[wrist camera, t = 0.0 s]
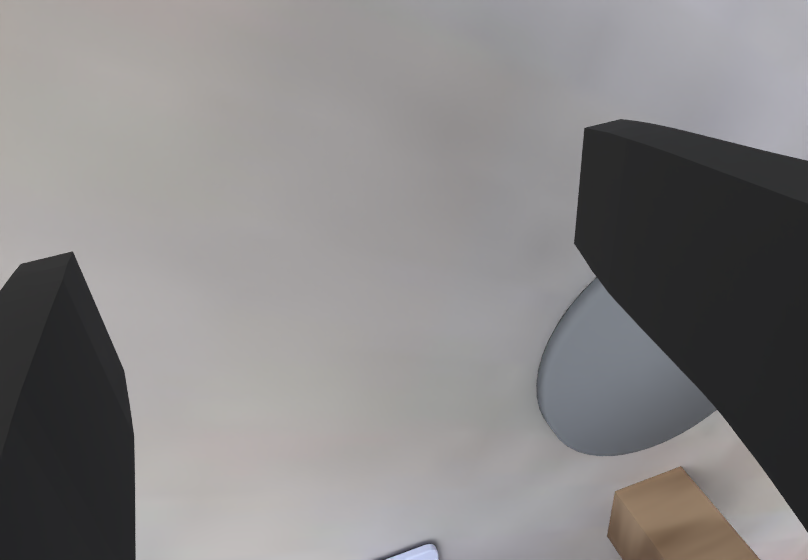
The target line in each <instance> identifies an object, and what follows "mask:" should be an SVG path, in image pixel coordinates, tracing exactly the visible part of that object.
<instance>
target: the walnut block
mask: <svg viewBox="0 0 808 560" xmlns="http://www.w3.org/2000/svg"><path fill="white" fill-rule="evenodd" d="M607 537H608V538H609V540H610V541H611V543H612V544H613V546H614V547H615V549H616V550H617V551H618V553H619V554H620V556H621V557H622V559H623V560H760V559H759V558H758V557H757V555H756V554H755V553H754V552H753V551H752V550H751V548H750V547H749V546H748V545H747V544H746V542H745V541H744V540H743V539H742V538H741V537H740V535H739V534H738V533H737V532H736V531H735V530H734V528H733V527H732V526H731V525H730V524H729V522H728V521H727V520H726V519H725V518H724V517H723V515H722V514H721V513H720V512H719V511H718V509H717V508H716V507H715V506H714V505H713V504H712V502H711V501H710V500H709V499H708V498H707V497H706V495H705V494H704V493H703V492H702V491H701V489H700V488H699V487H698V486H697V485H696V484H695V482H694V481H693V480H692V479H691V478H690V477H689V475H688V474H687V473H686V472H685V471H684V469H683V468H682V467H678V468H675V469H673V470H670V471H667V472H665V473H662V474H660V475H657V476H654V477H652V478H649V479H646V480H644V481H641V482H638V483H636V484H633V485H631V486H628V487H625V488H623V489H620V490H617V491H615V494H614V500H613V506H612V511H611V517H610V523H609V528H608V534H607Z"/></svg>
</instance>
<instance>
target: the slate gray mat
mask: <svg viewBox="0 0 808 560" xmlns="http://www.w3.org/2000/svg"><path fill="white" fill-rule="evenodd" d="M537 399H538V404H539V408H540V410H541V413H542V415H543V417H544V419H545V420H546V422H547V423H548V425H549V426H550V427H551V429H552V430H553V432H554V433H555V434H556V436H557V437H558V438H559V440H561V441H562V442H563V443H564V444H565V445H567V446H568V447H570V448H572V449H574V450H576V451H578V452H581V453H585V454H589V455H596V456H615V455H623V454H628V453H633V452H637V451H641V450H644V449H647V448H650V447H653V446H655V445H658V444H660V443H663V442H665V441H667V440H669V439H671V438H673V437H675V436H677V435H679V434H681V433H683V432H685V431H686V430H688V429H690V428H691V427H693V426H695V425H696V424H698V423H699V422H701V421H702V420H703V419H705V418H706V417H708V416H709V415H710V414H712V413H713V412H714V411H716V410H717V409H716V408H715V407H714V405H713V404H712V403H711V402H710V401H709V400H708V399H707V397H706V396H705V395H704V394H703V393H702V392H701V391H700V390H699V389H698V388H697V387H696V385H695V384H694V383H693V382H692V381H691V380H690V379H689V378H688V377H687V376H686V375H685V374H684V373H683V372H682V371H681V370H680V369H679V368H678V367H677V366H676V364H675V363H674V362H673V361H672V360H671V359H670V358H669V357H668V356H667V355H666V354H665V353H664V352H663V351H662V350H661V349H660V348H659V347H658V346H657V345H656V344H655V342H654V341H653V340H652V339H651V338H650V337H649V336H648V335H647V334H646V333H645V332H644V331H643V330H642V329H641V328H640V327H639V326H638V325H637V323H636V322H635V321H634V320H633V319H632V318H631V317H630V316H629V315H628V314H627V313H626V312H625V311H624V309H623V308H622V307H621V306H620V305H619V304H618V303H617V302H616V301H615V300H614V299H613V297H612V296H611V295H610V294H609V293H608V292H607V290H606V289H605V288H604V286H603V285H602V284H601V282H600V281H599V279H598V278H596V279H595V280H594V281H593V282H592V283H591V284H590V285H589V286H588V287H587V288H586V289H585V290H584V291H583V292H582V293H581V294H580V295H579V297H578V298H577V299H576V300H575V301H574V302H573V304H572V305H571V306H570V307H569V309H568V310H567V312H566V313H565V314H564V316H563V317H562V319H561V320H560V322H559V323H558V325H557V327H556V328H555V330H554V332H553V334H552V335H551V337H550V339H549V341H548V344H547V346H546V348H545V351H544V353H543V356H542V359H541V363H540V366H539V370H538V377H537Z"/></svg>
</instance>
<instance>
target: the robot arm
mask: <svg viewBox="0 0 808 560" xmlns="http://www.w3.org/2000/svg"><path fill="white" fill-rule="evenodd" d="M574 244H575V245H576V247H577V248H578V250H579V251H580V253H581V254H582V256H583V257H584V259H585V260H586V262H587V264H588V265H589V267H590V268H591V270H592V271H593V272H594V274H595V275H596V277H597V278H598V279H599V281H600V282H601V284H602V285H603V286H604V288H605V289H606V290H607V292H608V293H609V294H610V295H611V296H612V297H613V299H614V300H615V301H616V302H617V303H618V304H619V305H620V306H621V307H622V308H623V309H624V311H625V312H626V313H627V314H628V315H629V316H630V317H631V318H632V319H633V320H634V321H635V322H636V323H637V325H638V326H639V327H640V328H641V329H642V330H643V331H644V332H645V333H646V334H647V335H648V336H649V337H650V338H651V339H652V340H653V341H654V342H655V344H656V345H657V346H658V347H659V348H660V349H661V350H662V351H663V352H664V353H665V354H666V355H667V356H668V357H669V358H670V359H671V360H672V361H673V362H674V363H675V364H676V366H677V367H678V368H679V369H680V370H681V371H682V372H683V373H684V374H685V375H686V376H687V377H688V378H689V379H690V380H691V381H692V382H693V383H694V384H695V385H696V387H697V388H698V389H699V390H700V391H701V392H702V393H703V394H704V395H705V396H706V397H707V399H708V400H709V401H710V402H711V403H712V404H713V405H714V407H715V408H716V409H717V410H718V411H719V412H720V414H721V415H722V416H723V417H724V418H725V420H726V421H727V422H728V424H729V425H730V426H731V427H732V429H733V430H734V431H735V433H736V434H737V435H738V437H739V438H740V439H741V441H742V442H743V443H744V445H745V446H746V447H747V448H748V450H749V451H750V452H751V454H752V455H753V456H754V458H755V459H756V460H757V462H758V463H759V464H760V466H761V467H762V468H763V470H764V471H765V472H766V474H767V475H768V477H769V478H770V479H771V481H772V482H773V484H774V485H775V486H776V488H777V489H778V491H779V492H780V494H781V495H782V496H783V498H784V499H785V501H786V502H787V503H788V505H789V506H790V508H791V509H792V510H793V512H794V513H795V515H796V516H797V518H798V519H799V520H800V522H801V523H802V525H803V526H804V528H805V529H806V531H807V532H808V161H806V160H802V159H797V158H793V157H789V156H784V155H780V154H776V153H772V152H768V151H763V150H759V149H755V148H751V147H747V146H743V145H739V144H735V143H731V142H727V141H723V140H719V139H715V138H711V137H707V136H703V135H699V134H695V133H691V132H687V131H683V130H678V129H674V128H670V127H665V126H660V125H656V124H650V123H645V122H639V121H632V120H623V119H620V120H616V121H612V122H607V123H603V124H599V125H595V126H591V127H587V128H584V139H583V150H582V162H581V173H580V184H579V195H578V207H577V218H576V229H575V240H574ZM0 560H135V457H134V432H133V425H132V418H131V411H130V404H129V398H128V392H127V385H126V379H125V373H124V369H123V367H122V365H121V362H120V360H119V358H118V355H117V353H116V351H115V348H114V346H113V344H112V341H111V339H110V337H109V334H108V332H107V330H106V327H105V325H104V323H103V320H102V318H101V316H100V313H99V311H98V309H97V307H96V304H95V302H94V300H93V297H92V295H91V293H90V290H89V288H88V286H87V283H86V281H85V279H84V276H83V274H82V272H81V269H80V267H79V265H78V262H77V260H76V258H75V255H74V253H73V252H69V253H65V254H60V255H56V256H52V257H48V258H44V259H40V260H36V261H31V262H27V263H23V264H20V266H19V267H18V268H17V269H16V270H15V272H14V273H13V274H12V276H11V277H10V278H9V280H8V281H7V282H6V284H5V285H4V286H3V288H2V289H1V291H0ZM386 560H439V557H438V551H437V549H436V547H435V545H433V544H426V545H423V546H420V547H418V548H415V549H412V550H410V551H407V552H404V553H402V554H399V555H396V556H394V557H391V558H388V559H386Z"/></svg>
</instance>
